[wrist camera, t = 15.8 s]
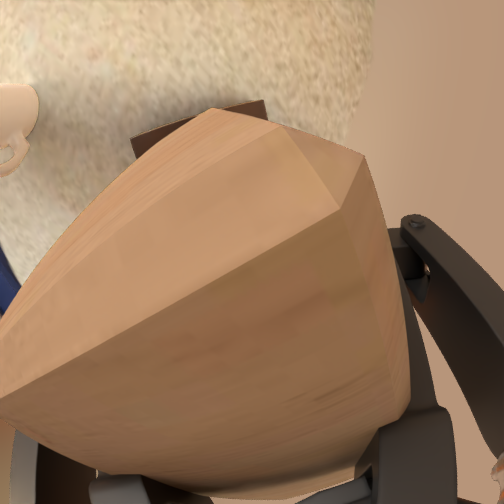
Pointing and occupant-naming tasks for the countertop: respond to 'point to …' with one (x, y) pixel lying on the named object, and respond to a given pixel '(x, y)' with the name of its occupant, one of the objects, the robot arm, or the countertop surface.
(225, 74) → the countertop surface
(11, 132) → the mug
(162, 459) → the decorative block
